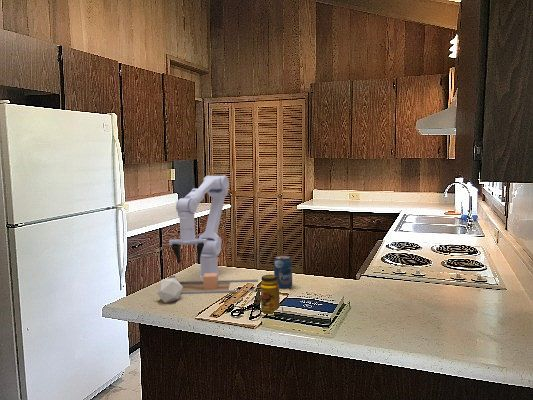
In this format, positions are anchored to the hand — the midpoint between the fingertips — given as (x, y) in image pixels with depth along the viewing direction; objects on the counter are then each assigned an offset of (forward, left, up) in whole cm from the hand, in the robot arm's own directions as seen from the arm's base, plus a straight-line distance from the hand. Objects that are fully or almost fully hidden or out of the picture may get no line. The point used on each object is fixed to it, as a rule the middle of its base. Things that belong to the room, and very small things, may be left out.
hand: (188, 262), depth 176 cm
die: (+18, -4, -10) cm, 21 cm away
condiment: (+32, +32, -10) cm, 46 cm away
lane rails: (+5, +9, -9) cm, 14 cm away
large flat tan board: (+5, +4, -9) cm, 11 cm away
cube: (+5, +9, -9) cm, 14 cm away
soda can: (+6, +37, -10) cm, 39 cm away
